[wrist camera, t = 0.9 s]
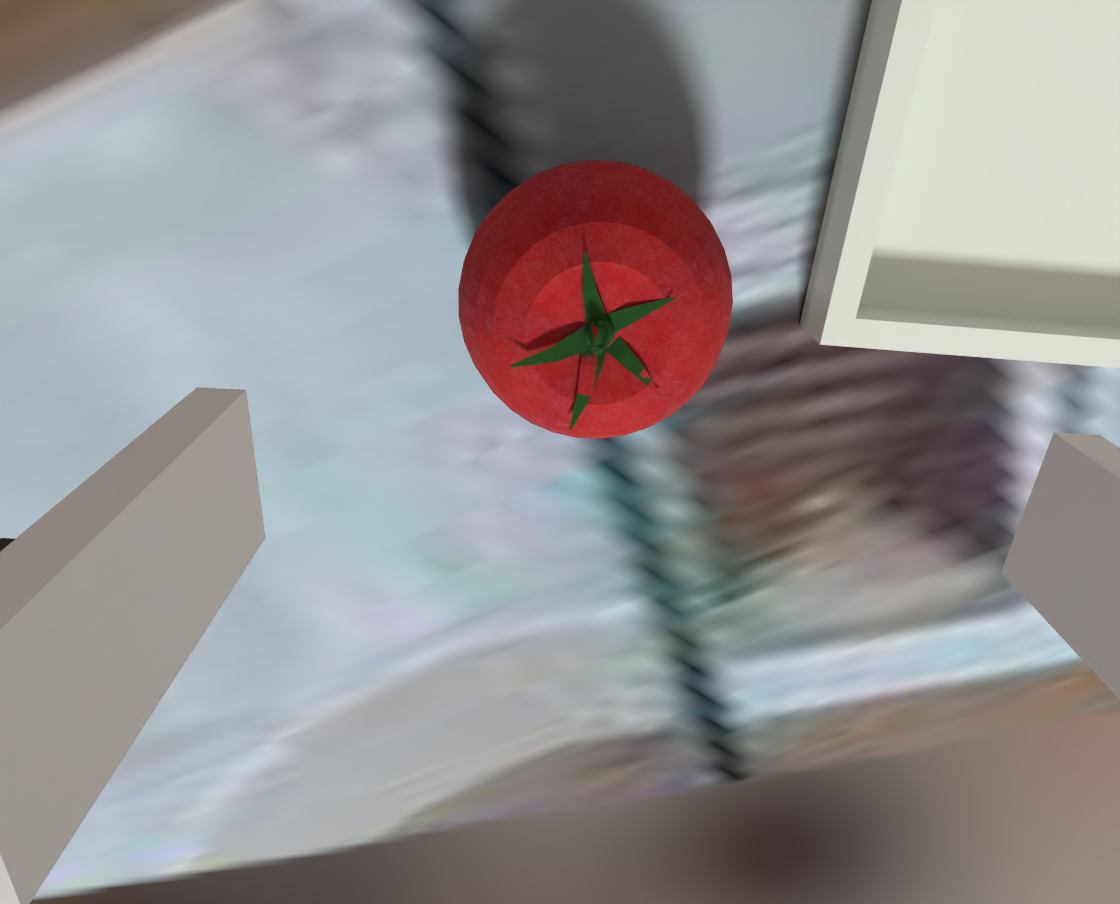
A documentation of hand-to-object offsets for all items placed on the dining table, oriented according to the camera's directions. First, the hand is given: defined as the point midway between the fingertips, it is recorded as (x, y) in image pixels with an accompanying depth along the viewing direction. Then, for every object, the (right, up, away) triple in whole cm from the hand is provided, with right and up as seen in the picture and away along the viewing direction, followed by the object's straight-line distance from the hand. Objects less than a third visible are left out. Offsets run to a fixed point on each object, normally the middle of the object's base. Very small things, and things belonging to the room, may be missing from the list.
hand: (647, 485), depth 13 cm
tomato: (0, +7, +15) cm, 17 cm away
